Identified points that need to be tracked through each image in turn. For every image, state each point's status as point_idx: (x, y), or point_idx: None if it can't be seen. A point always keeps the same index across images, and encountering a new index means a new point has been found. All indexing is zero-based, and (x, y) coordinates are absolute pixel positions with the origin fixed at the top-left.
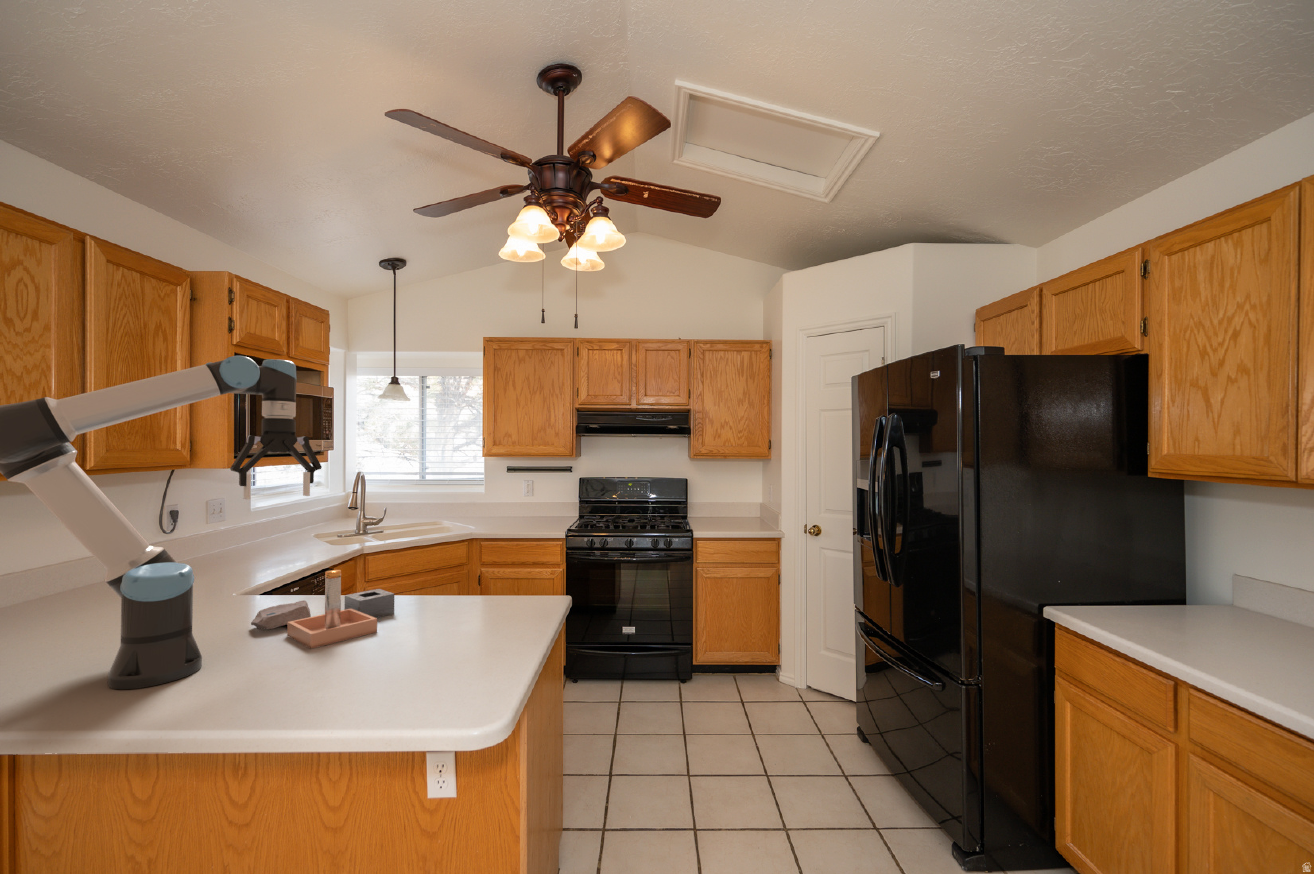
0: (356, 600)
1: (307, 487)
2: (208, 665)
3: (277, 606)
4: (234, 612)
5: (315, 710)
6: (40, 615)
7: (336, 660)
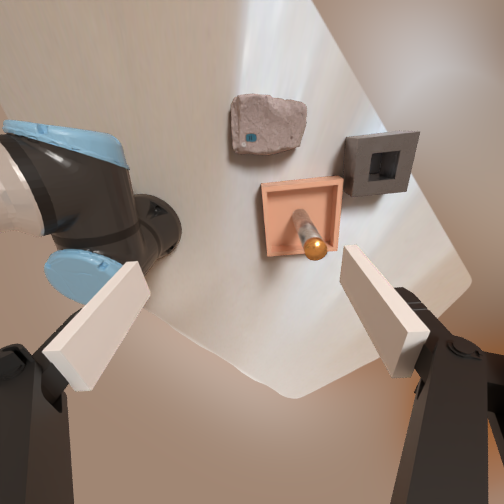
0: (352, 185)
1: (355, 306)
2: (186, 230)
3: (265, 107)
4: None
5: (238, 349)
6: None
7: (272, 290)
